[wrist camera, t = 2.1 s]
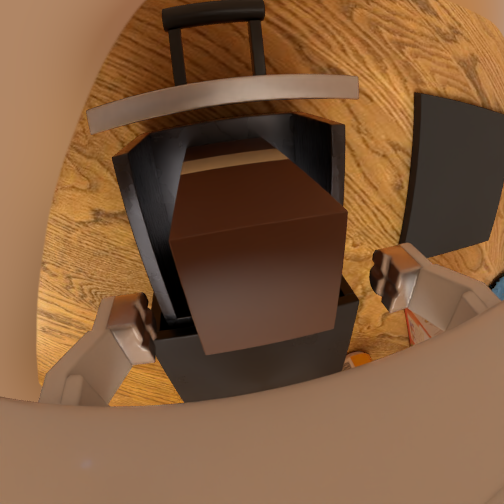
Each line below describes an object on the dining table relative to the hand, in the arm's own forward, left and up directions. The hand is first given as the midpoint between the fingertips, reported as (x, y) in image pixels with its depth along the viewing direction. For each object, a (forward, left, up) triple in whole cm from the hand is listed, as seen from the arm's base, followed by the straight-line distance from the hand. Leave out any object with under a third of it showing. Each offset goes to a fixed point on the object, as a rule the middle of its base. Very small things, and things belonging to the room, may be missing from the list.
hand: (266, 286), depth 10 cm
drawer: (-2, 0, -12) cm, 13 cm away
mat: (+3, +26, -13) cm, 29 cm away
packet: (0, 0, -11) cm, 11 cm away
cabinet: (+14, 0, -13) cm, 19 cm away
